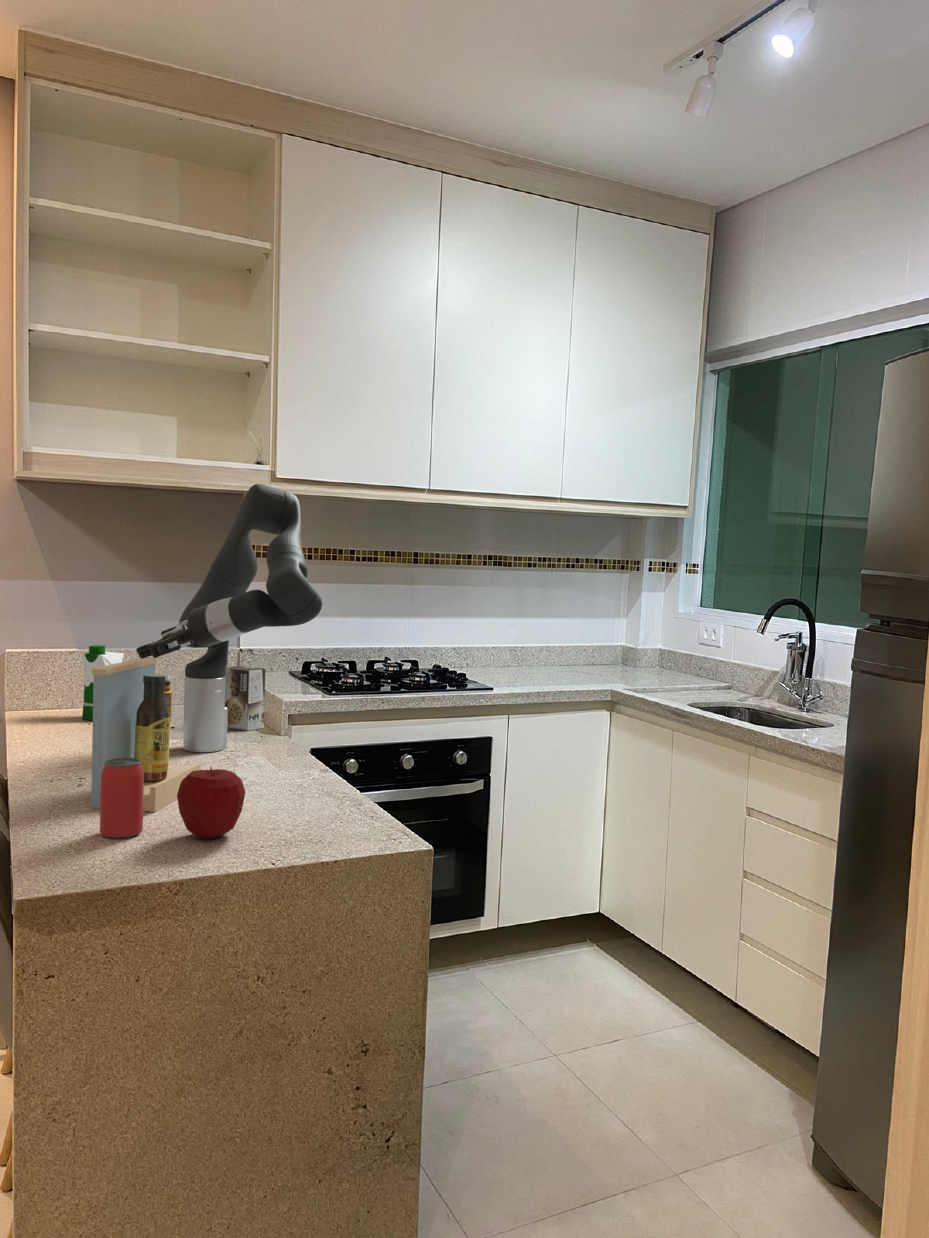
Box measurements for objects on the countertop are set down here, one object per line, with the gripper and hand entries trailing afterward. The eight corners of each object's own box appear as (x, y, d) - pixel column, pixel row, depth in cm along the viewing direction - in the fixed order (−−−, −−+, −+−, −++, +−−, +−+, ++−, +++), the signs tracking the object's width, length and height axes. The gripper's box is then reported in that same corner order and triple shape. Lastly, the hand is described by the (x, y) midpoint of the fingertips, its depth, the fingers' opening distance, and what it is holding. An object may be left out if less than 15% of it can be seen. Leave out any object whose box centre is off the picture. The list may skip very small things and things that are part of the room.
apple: (207, 851, 144) (209, 777, 143) (161, 837, 149) (162, 766, 149) (258, 835, 153) (260, 765, 152) (212, 823, 159) (214, 756, 158)
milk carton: (76, 719, 247) (78, 645, 246) (102, 715, 255) (104, 643, 254) (101, 723, 243) (102, 648, 242) (126, 718, 252) (128, 645, 250)
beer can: (106, 827, 154) (108, 756, 153) (147, 828, 154) (148, 757, 153) (94, 839, 147) (95, 765, 146) (136, 840, 148) (138, 766, 147)
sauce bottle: (157, 784, 171) (159, 678, 170) (126, 781, 172) (129, 676, 171) (175, 776, 178) (177, 674, 176) (145, 773, 179) (147, 672, 177)
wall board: (141, 781, 185) (144, 657, 183) (200, 785, 183) (203, 660, 182) (89, 807, 165) (92, 668, 163) (155, 812, 164) (158, 672, 162)
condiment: (170, 722, 249) (171, 678, 248) (175, 728, 241) (176, 682, 240) (142, 723, 246) (143, 679, 245) (146, 729, 238) (147, 683, 237)
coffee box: (265, 728, 247) (266, 668, 246) (247, 731, 241) (249, 670, 240) (240, 723, 251) (242, 664, 250) (222, 726, 246) (224, 666, 245)
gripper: (229, 590, 176) (162, 614, 181) (191, 616, 163) (120, 641, 168) (246, 625, 177) (179, 648, 183) (210, 654, 164) (139, 677, 170)
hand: (151, 644), depth 175 cm, fingers open, 8 cm apart
